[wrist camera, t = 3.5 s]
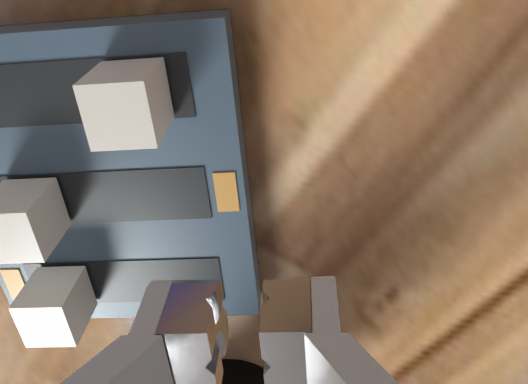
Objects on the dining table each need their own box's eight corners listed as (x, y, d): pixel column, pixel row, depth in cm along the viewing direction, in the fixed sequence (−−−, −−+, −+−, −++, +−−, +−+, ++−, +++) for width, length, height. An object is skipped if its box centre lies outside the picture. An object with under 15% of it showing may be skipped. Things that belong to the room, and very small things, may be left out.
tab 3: (163, 57, 23) (143, 81, 20) (174, 117, 25) (157, 148, 22) (100, 61, 24) (72, 85, 21) (115, 121, 25) (90, 151, 22)
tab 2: (85, 265, 30) (61, 307, 27) (97, 303, 31) (76, 346, 28) (36, 267, 30) (8, 308, 27) (51, 304, 32) (25, 347, 29)
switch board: (229, 8, 24) (224, 17, 22) (261, 293, 33) (259, 316, 31) (-81, 32, 26) (-109, 42, 24) (30, 298, 35) (15, 320, 33)
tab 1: (56, 177, 27) (25, 212, 24) (71, 223, 28) (44, 262, 25) (2, 179, 27) (-34, 215, 24) (20, 225, 29) (-12, 264, 26)
